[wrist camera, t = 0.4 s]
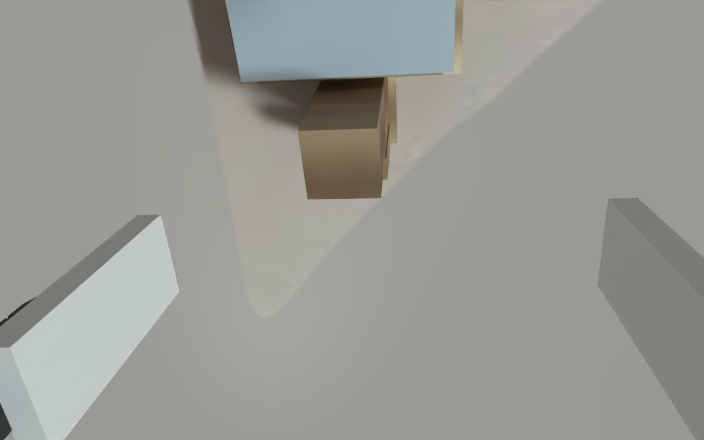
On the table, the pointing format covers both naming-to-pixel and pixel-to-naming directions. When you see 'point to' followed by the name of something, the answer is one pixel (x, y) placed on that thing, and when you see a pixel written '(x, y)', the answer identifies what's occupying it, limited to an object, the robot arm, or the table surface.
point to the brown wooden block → (345, 139)
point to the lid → (341, 38)
